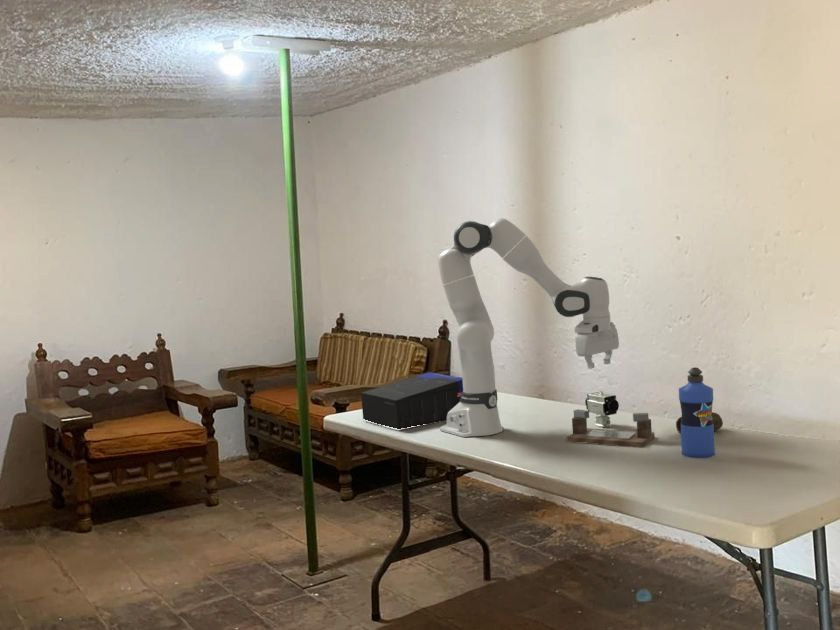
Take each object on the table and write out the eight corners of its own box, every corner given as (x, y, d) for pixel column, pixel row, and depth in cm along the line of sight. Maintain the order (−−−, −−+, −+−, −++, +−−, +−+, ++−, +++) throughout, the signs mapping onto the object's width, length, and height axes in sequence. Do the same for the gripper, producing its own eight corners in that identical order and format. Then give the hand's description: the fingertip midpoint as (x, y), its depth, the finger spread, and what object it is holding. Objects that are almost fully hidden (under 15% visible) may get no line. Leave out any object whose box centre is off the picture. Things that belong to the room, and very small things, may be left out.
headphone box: (475, 414, 310) (473, 377, 309) (398, 431, 291) (395, 391, 289) (437, 406, 331) (435, 371, 329) (362, 421, 311) (360, 384, 310)
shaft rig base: (567, 441, 260) (566, 421, 259) (581, 432, 271) (580, 413, 270) (642, 447, 247) (641, 426, 247) (654, 437, 258) (653, 417, 258)
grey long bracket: (569, 435, 262) (568, 413, 261) (578, 429, 269) (577, 408, 268) (645, 440, 249) (644, 417, 249) (652, 434, 256) (651, 412, 255)
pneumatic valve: (596, 422, 283) (594, 388, 282) (620, 428, 273) (618, 392, 272) (583, 425, 280) (582, 390, 279) (607, 431, 270) (606, 395, 269)
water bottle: (674, 452, 239) (670, 368, 237) (699, 447, 243) (696, 364, 240) (696, 459, 231) (692, 372, 228) (722, 454, 234) (719, 368, 232)
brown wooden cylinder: (691, 439, 253) (690, 418, 252) (674, 435, 259) (673, 415, 258) (725, 431, 260) (724, 410, 259) (708, 427, 266) (707, 407, 265)
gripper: (606, 321, 283) (608, 360, 284) (571, 328, 269) (573, 370, 270) (622, 321, 278) (624, 361, 280) (587, 329, 264) (589, 371, 266)
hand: (599, 366), depth 275 cm, fingers open, 8 cm apart
